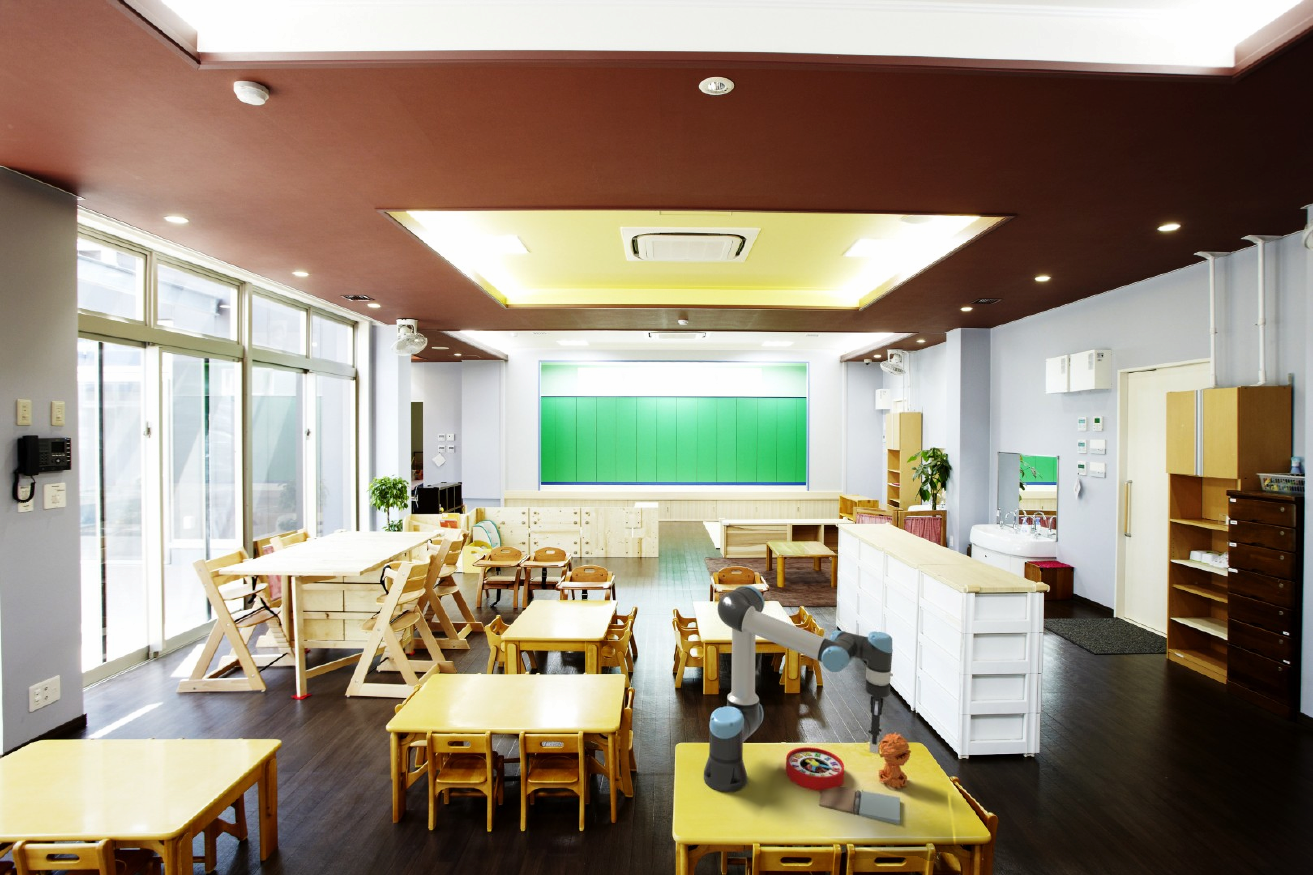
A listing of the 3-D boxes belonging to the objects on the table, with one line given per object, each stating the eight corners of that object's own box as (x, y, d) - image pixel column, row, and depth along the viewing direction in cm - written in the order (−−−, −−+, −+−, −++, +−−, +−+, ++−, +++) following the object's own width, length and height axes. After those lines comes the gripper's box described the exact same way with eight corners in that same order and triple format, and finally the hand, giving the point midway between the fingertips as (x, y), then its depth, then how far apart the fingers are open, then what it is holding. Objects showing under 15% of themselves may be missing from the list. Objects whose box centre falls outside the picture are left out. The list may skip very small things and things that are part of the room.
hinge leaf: (853, 816, 199) (853, 811, 199) (856, 794, 211) (856, 789, 211) (899, 825, 194) (899, 820, 194) (899, 801, 206) (899, 797, 206)
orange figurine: (913, 795, 211) (915, 743, 211) (879, 791, 213) (881, 739, 213) (907, 777, 222) (908, 727, 222) (874, 773, 224) (876, 724, 224)
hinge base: (819, 808, 203) (819, 803, 203) (823, 786, 215) (823, 782, 215) (858, 817, 199) (858, 812, 199) (860, 795, 211) (860, 790, 211)
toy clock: (791, 742, 234) (846, 754, 227) (791, 757, 234) (846, 770, 227) (781, 769, 216) (841, 783, 208) (780, 785, 216) (840, 800, 208)
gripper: (890, 691, 196) (885, 764, 197) (890, 675, 208) (886, 745, 209) (864, 686, 198) (860, 758, 199) (866, 671, 211) (862, 739, 211)
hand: (873, 751), depth 204 cm, fingers closed
